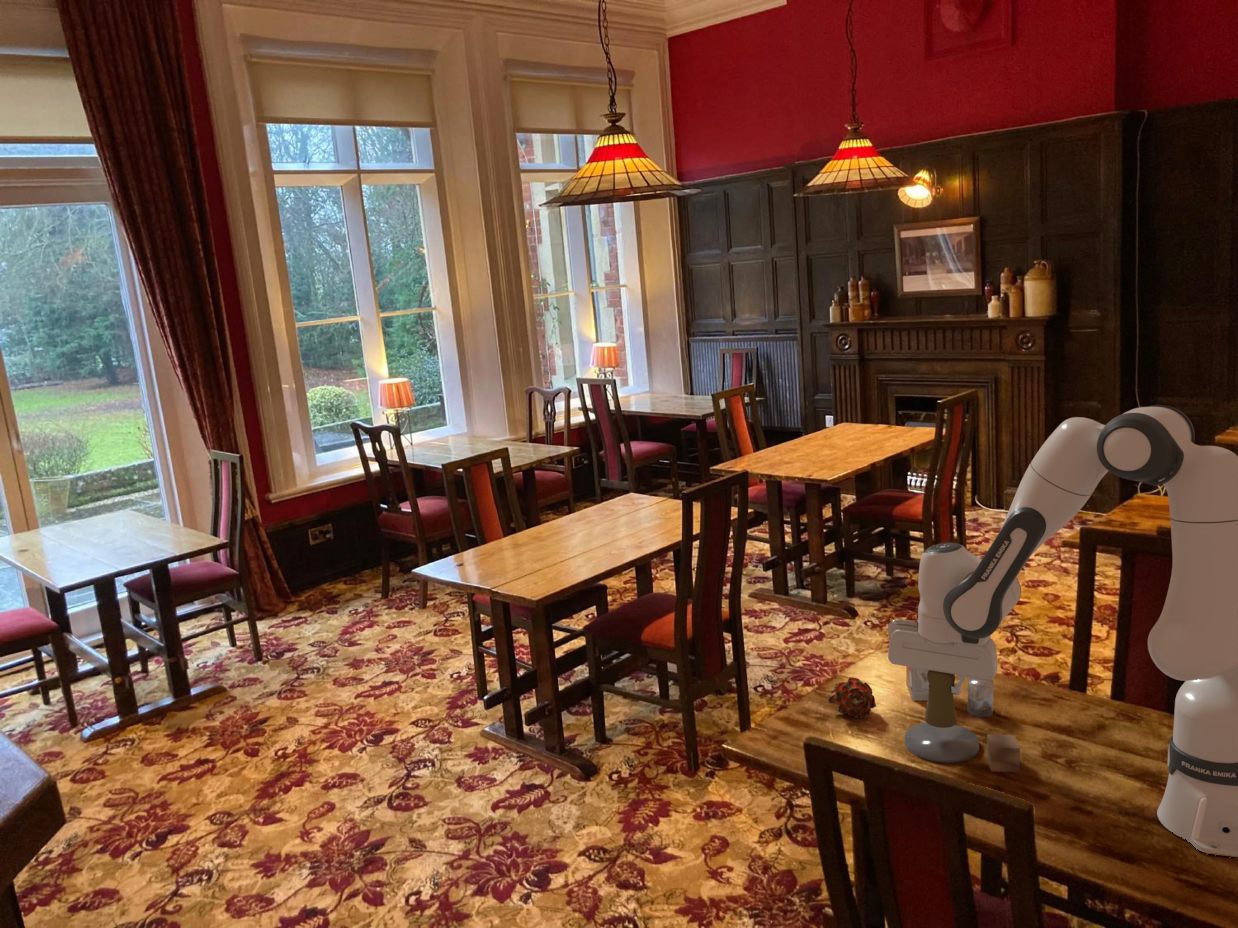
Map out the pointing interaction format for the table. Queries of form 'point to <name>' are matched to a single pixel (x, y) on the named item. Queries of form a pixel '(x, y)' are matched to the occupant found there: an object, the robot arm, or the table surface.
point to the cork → (940, 700)
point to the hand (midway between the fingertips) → (941, 690)
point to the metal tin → (980, 697)
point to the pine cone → (853, 698)
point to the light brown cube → (1003, 753)
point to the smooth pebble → (942, 743)
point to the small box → (915, 685)
